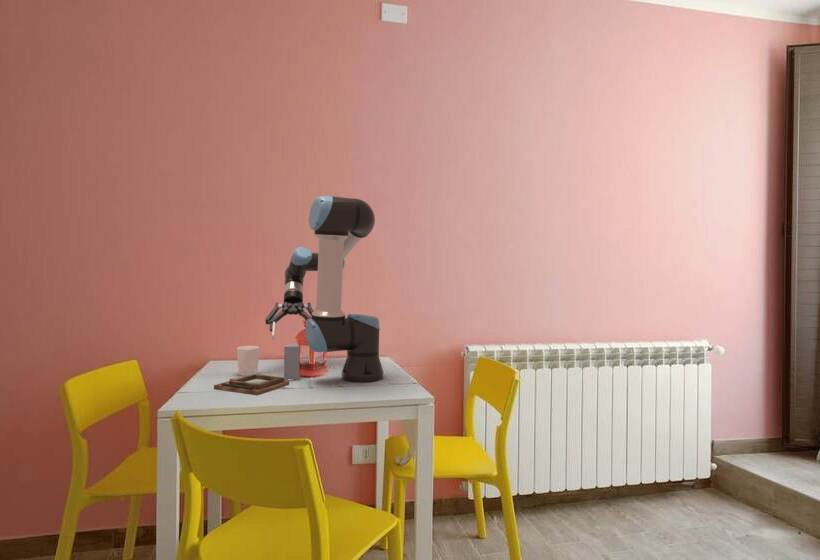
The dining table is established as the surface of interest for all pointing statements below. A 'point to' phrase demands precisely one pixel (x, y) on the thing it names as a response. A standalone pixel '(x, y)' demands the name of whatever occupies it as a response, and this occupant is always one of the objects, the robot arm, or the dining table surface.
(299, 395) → the dining table surface
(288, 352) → the block
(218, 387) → the brown wooden frame
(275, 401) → the dining table surface
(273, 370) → the dining table surface
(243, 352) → the white cup
